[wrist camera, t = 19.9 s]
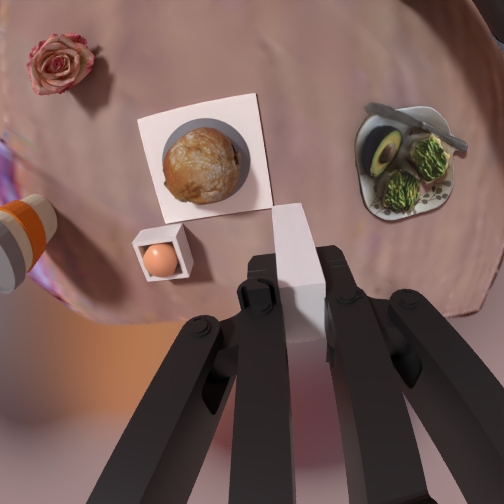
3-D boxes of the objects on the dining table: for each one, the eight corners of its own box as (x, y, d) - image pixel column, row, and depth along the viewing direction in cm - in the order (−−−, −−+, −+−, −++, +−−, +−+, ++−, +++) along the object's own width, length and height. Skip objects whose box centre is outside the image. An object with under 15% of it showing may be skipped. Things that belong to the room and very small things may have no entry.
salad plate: (455, 93, 30) (473, 97, 26) (461, 199, 39) (476, 211, 35) (342, 105, 33) (352, 108, 29) (362, 223, 42) (372, 237, 38)
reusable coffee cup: (42, 255, 46) (0, 303, 34) (9, 204, 40) (-40, 244, 28) (76, 230, 43) (28, 282, 30) (40, 171, 37) (-20, 209, 25)
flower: (38, 101, 30) (32, 108, 25) (29, 48, 23) (21, 45, 18) (95, 79, 33) (99, 82, 29) (88, 27, 27) (92, 20, 22)
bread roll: (243, 177, 42) (265, 181, 35) (184, 216, 40) (194, 229, 33) (209, 119, 37) (225, 110, 30) (146, 158, 36) (147, 158, 29)
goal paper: (137, 119, 34) (136, 119, 34) (255, 93, 32) (255, 93, 32) (166, 222, 42) (165, 223, 42) (273, 206, 41) (273, 208, 40)
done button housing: (141, 230, 43) (132, 242, 40) (182, 223, 42) (175, 236, 39) (154, 267, 47) (147, 281, 43) (194, 262, 46) (189, 277, 43)
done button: (144, 240, 42) (138, 250, 39) (174, 235, 41) (169, 246, 39) (155, 267, 44) (149, 279, 42) (184, 264, 44) (179, 275, 41)
